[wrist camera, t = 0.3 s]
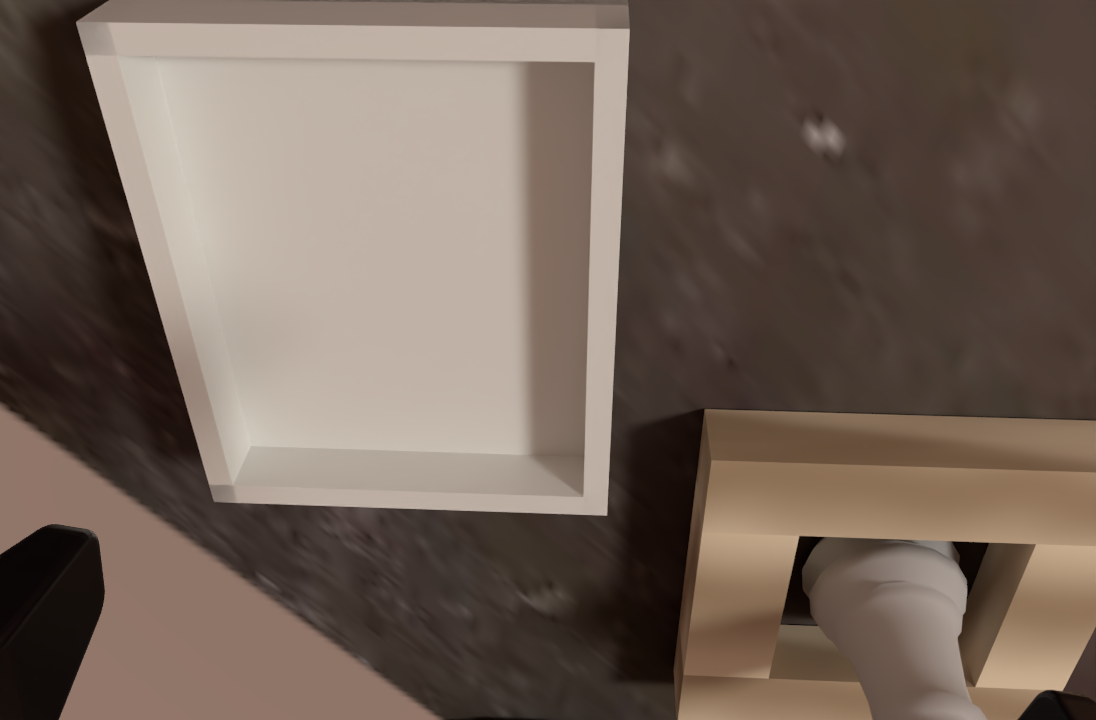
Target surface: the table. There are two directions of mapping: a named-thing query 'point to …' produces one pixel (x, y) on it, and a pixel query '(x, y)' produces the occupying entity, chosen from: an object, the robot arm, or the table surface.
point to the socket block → (883, 513)
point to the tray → (380, 239)
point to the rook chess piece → (895, 622)
